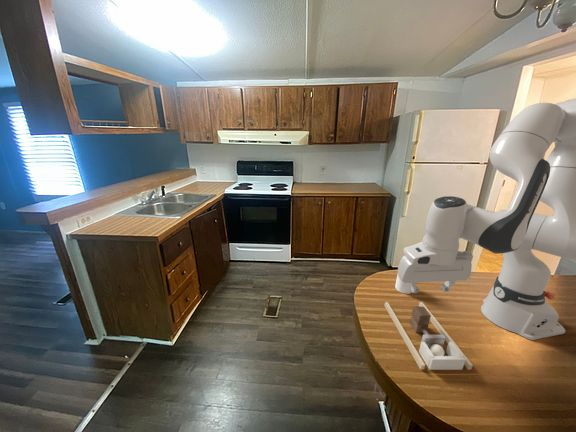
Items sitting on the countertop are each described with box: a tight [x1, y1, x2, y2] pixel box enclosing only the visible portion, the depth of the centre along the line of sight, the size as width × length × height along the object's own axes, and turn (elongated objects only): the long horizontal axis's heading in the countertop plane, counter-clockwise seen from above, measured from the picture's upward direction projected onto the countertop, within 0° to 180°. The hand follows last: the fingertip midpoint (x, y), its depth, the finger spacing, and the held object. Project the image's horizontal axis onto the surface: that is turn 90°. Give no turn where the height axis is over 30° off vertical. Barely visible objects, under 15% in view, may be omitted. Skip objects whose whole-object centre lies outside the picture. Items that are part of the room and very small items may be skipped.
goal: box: [418, 341, 466, 371], centre depth 65 cm, size 9×6×4 cm, turn 90°
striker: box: [409, 306, 446, 349], centre depth 73 cm, size 6×10×7 cm, turn 0°
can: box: [394, 273, 413, 295], centre depth 94 cm, size 6×6×12 cm
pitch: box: [384, 301, 474, 371], centre depth 75 cm, size 14×25×3 cm, turn 0°
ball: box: [430, 344, 445, 356], centre depth 67 cm, size 4×4×4 cm
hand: (429, 291), depth 71 cm, fingers open, 8 cm apart
